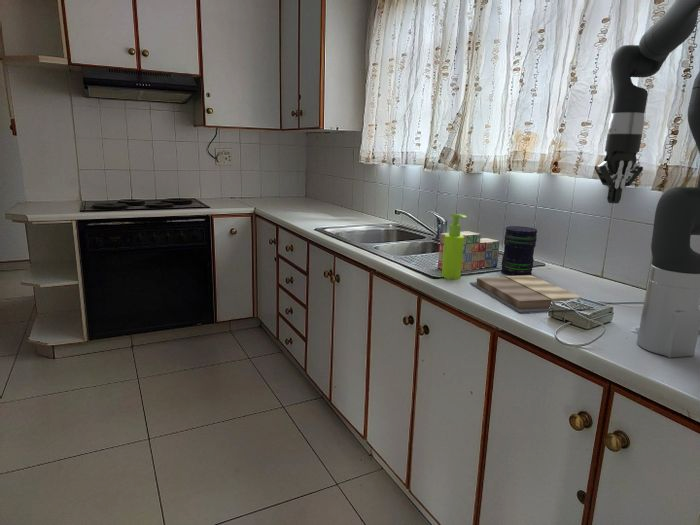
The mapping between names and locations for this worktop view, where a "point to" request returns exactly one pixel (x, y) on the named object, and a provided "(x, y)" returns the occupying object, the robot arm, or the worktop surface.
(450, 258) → the soap dispenser
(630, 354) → the worktop surface
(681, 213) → the robot arm
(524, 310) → the underlay mat
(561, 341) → the worktop surface
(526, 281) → the oak plank
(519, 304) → the walnut plank
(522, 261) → the storage jar
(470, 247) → the stack of blocks
